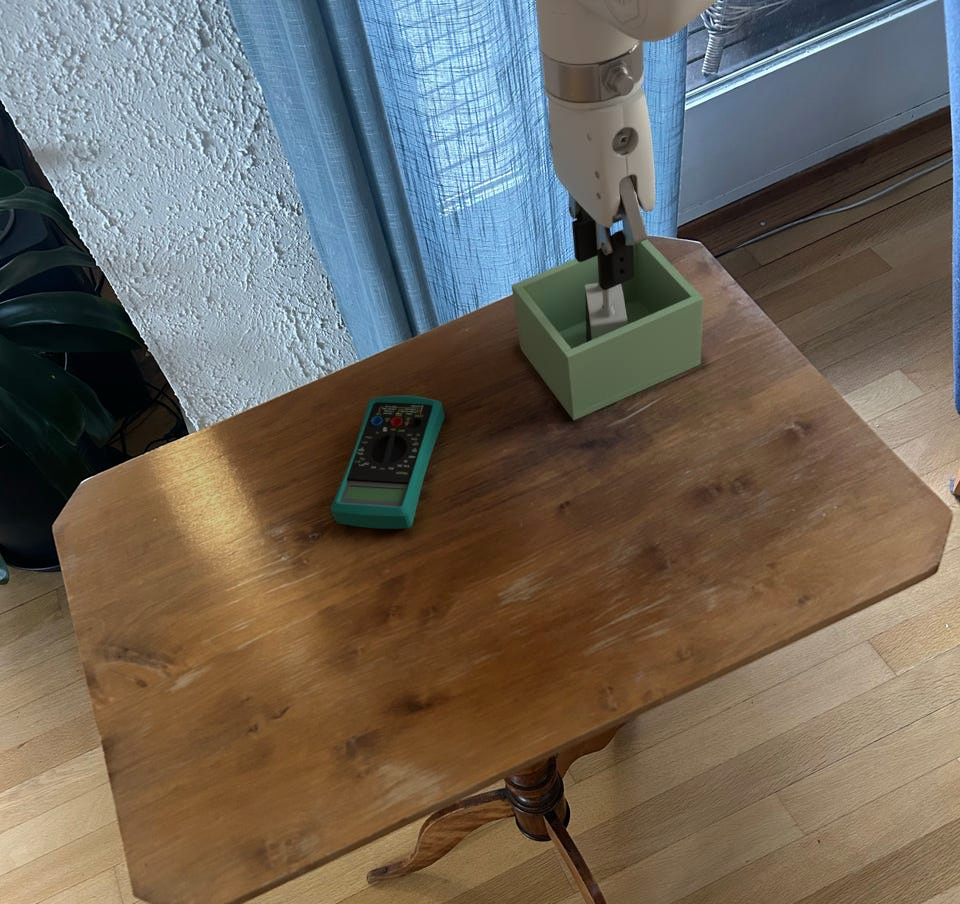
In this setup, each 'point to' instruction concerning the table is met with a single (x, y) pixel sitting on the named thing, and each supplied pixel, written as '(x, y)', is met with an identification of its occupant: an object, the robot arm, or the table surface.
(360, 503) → the digital multimeter
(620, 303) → the padlock
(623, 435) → the table surface
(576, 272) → the holder
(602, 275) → the robot arm
